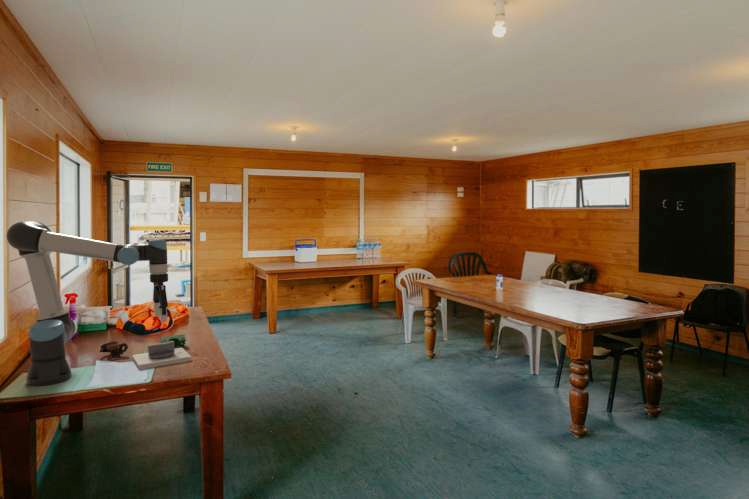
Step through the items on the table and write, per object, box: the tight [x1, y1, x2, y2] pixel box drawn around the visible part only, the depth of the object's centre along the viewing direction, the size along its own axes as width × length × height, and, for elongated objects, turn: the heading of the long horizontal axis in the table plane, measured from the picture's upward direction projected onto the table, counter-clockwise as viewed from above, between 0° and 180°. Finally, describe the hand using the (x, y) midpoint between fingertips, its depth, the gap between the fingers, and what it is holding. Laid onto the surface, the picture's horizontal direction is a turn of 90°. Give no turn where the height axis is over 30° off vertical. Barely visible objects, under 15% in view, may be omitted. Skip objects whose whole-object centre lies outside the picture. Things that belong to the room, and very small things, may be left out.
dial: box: [147, 341, 176, 359], centre depth 222 cm, size 11×11×6 cm
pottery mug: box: [99, 341, 129, 361], centre depth 228 cm, size 12×10×8 cm
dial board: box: [131, 347, 192, 370], centre depth 222 cm, size 22×18×2 cm
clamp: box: [160, 333, 187, 348], centre depth 242 cm, size 12×6×9 cm, turn 112°
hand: (160, 319), depth 221 cm, fingers open, 13 cm apart
